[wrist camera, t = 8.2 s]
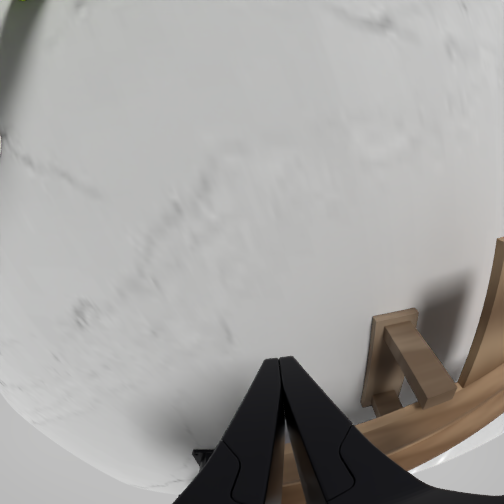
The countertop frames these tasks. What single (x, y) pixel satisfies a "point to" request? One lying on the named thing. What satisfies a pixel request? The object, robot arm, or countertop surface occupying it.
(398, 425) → the lever
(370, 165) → the countertop surface
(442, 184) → the countertop surface
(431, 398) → the stand
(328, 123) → the countertop surface
